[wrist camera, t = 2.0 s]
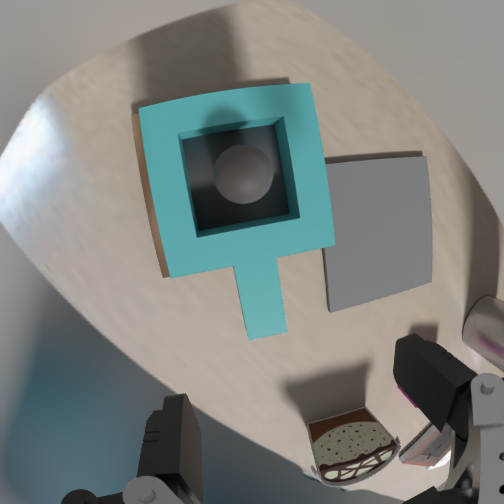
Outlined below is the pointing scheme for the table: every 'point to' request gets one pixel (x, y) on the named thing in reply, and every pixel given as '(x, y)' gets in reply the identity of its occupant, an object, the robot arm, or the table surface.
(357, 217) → the mat
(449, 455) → the external hard drive
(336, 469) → the food container
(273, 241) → the teal square racket
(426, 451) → the picture frame
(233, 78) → the table surface
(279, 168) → the stand
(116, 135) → the table surface
